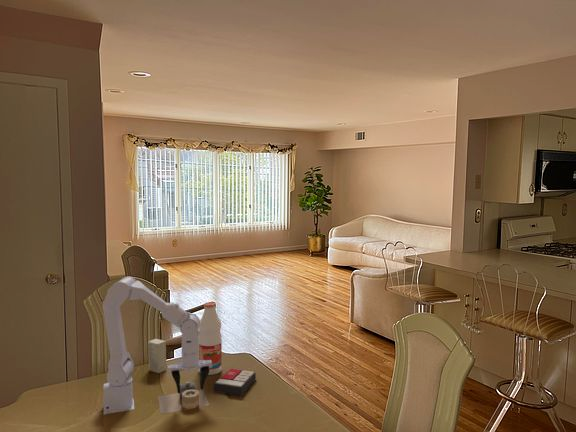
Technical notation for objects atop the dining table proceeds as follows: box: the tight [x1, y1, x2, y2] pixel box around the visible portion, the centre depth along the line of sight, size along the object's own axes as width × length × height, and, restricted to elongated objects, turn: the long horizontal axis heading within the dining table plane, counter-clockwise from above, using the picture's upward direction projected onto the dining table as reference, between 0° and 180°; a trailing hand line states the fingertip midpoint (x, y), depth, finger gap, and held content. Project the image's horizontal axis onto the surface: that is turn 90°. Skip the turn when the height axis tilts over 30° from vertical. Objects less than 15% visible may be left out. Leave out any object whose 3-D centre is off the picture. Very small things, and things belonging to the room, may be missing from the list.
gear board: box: [157, 381, 210, 415], centre depth 150 cm, size 16×13×6 cm
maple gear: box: [182, 389, 199, 410], centre depth 148 cm, size 6×6×4 cm
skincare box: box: [147, 338, 168, 374], centre depth 176 cm, size 6×4×12 cm
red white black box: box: [213, 368, 257, 398], centre depth 164 cm, size 11×4×15 cm
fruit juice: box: [197, 301, 223, 376], centre depth 176 cm, size 9×9×28 cm
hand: (190, 390), depth 147 cm, fingers open, 7 cm apart
